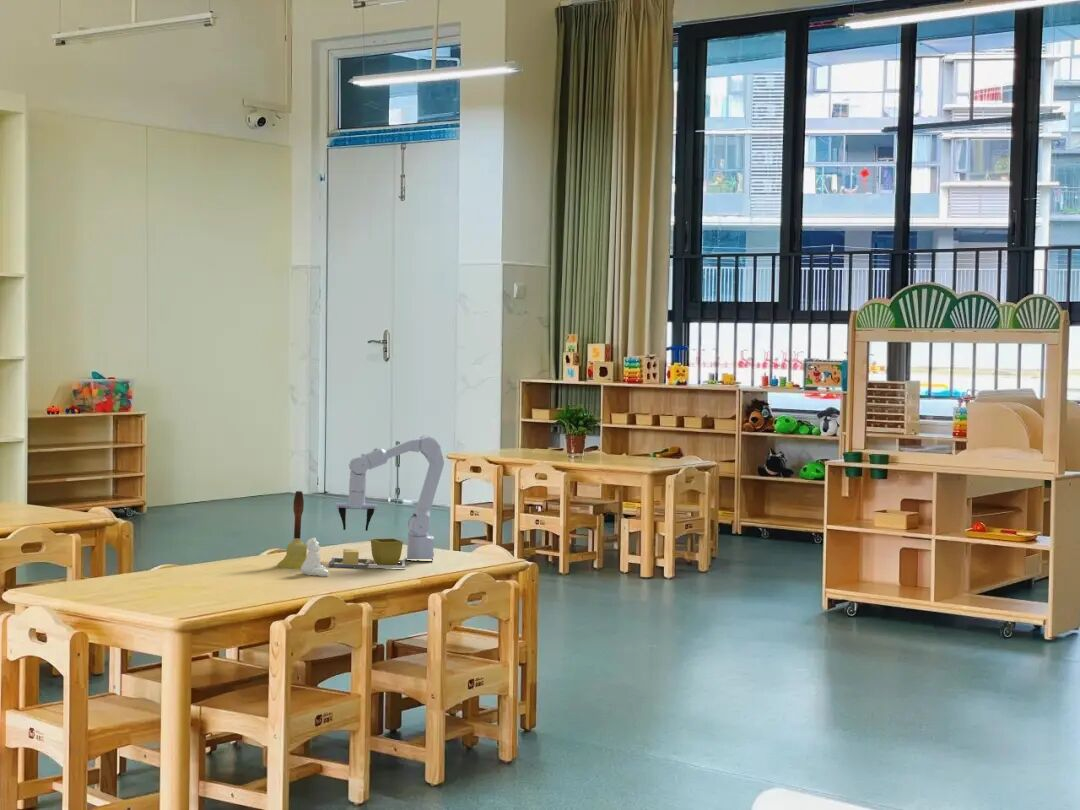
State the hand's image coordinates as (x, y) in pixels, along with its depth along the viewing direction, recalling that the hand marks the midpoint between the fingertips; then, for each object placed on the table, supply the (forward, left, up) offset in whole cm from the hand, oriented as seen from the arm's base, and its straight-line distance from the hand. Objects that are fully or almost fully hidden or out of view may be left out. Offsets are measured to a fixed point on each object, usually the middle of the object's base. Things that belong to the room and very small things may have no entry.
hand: (355, 529), depth 460 cm
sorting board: (-5, +12, -10) cm, 17 cm away
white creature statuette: (+12, +33, -11) cm, 37 cm away
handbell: (+19, +16, -11) cm, 27 cm away
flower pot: (-11, +12, -11) cm, 19 cm away
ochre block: (+1, +12, -10) cm, 16 cm away
